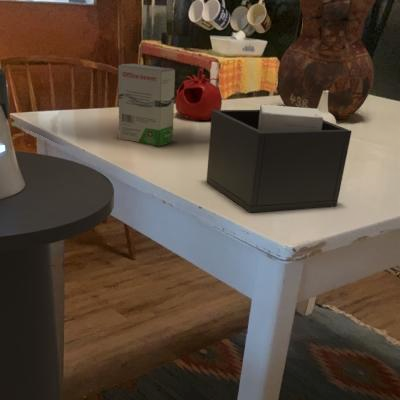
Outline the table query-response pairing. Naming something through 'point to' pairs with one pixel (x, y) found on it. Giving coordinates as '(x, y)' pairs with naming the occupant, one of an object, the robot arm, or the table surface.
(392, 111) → the table surface
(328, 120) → the garlic bulb
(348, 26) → the brown curved lobed piece
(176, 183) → the table surface
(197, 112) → the pomegranate
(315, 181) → the trash bin
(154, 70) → the ink box
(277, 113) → the small box
